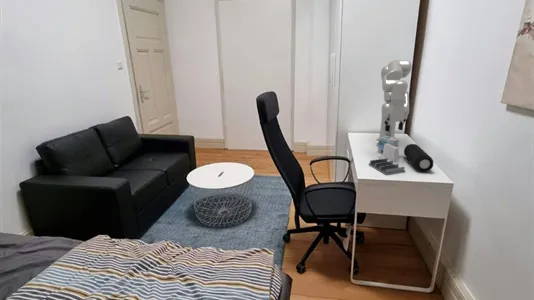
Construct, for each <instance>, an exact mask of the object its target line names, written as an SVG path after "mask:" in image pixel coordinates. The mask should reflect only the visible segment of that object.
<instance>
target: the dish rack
mask: <svg viewBox="0 0 534 300" xmlns="http://www.w3.org/2000/svg"><path fill="white" fill-rule="evenodd" d="M368 166H370V167H371V168H373V169H375V170H376V171H378V172H380V173H382V174H383V175H385V176H390V175H396V174H402V173H406V170H405V168H406V167H405V166H400V165H399V163H394V162H393V161H390V160H388V158H379V159H372V160H369V163H368ZM399 166H400V167H399Z"/></svg>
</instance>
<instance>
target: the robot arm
mask: <svg viewBox="0 0 534 300" xmlns="http://www.w3.org/2000/svg"><path fill="white" fill-rule="evenodd" d="M412 67H413V65H412V63H411V61H410V60H408V59H407V60H405V59H404V60H402V59H399V60H398V59H397V60H396V59H395V60H391V61H390V62H389V63H388V64H387V65H385V66H383V67H382V68H381V71H380V77H381V88H382V91H383V100H384V102H385V103H383V104H382V105H381V121H380V130H379V137H378V138H376V141H377V143H376V144H375V146H376V147H377V148H378V146H379V138H380V137H382V136H389V137H393V138H395V134H396V133H395V132H396V125H397V124H396V123H397V122H398V126H397V130H399V131H403V129H404V124H405V123H406V122H407V119H408V117H409V116H408V115H409V114H410V94H409V91H408V89H409V88H408V87H409V84H408V82H407V81H406V79H405V78H407V77H408V76H409V74H410V73H411V71H412ZM404 79H405V80H404Z"/></svg>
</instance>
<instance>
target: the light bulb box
mask: <svg viewBox="0 0 534 300" xmlns="http://www.w3.org/2000/svg"><path fill="white" fill-rule="evenodd" d="M379 137H380V136H379ZM379 137H378V138H379ZM399 140H400V138H397V137H394V138H393V137H389V136H382V137H380V138H379V146H378V147H377V153H378V154H379V153H380V154H383V150H384V144H387V143H389V144H391V145H393V146H395V147H398V148H399V142H400V141H399Z"/></svg>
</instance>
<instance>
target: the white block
mask: <svg viewBox="0 0 534 300" xmlns="http://www.w3.org/2000/svg"><path fill="white" fill-rule="evenodd" d="M399 150H400V147H399V146H398V147H395V146H393V145H391V144H389V143H387V144H384V150H383V153H382V158H383V159H385V158H388V161H393V163H397V162H398V158H399V157H398V156H399V152H400V151H399Z"/></svg>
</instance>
